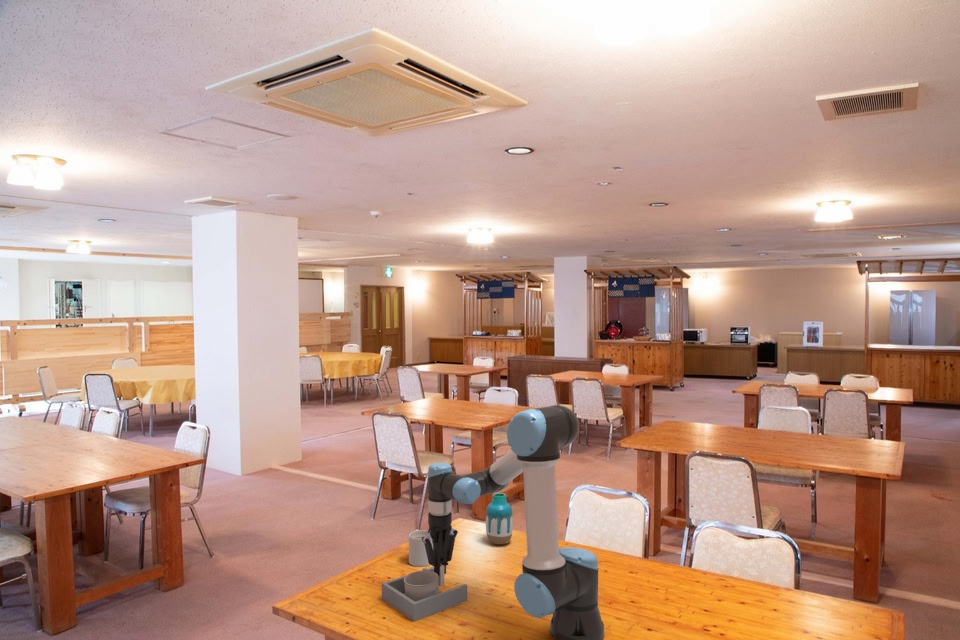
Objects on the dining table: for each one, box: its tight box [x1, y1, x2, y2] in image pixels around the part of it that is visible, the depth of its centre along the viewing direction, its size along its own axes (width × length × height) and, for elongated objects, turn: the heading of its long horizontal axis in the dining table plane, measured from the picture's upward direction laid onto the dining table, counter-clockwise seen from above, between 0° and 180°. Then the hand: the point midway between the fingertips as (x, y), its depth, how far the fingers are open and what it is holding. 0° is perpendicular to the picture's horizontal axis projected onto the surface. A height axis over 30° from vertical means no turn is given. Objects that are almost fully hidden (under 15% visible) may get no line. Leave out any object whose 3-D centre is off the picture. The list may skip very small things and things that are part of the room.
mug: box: [408, 529, 433, 567], centre depth 225 cm, size 11×10×10 cm
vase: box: [485, 492, 514, 545], centre depth 243 cm, size 11×11×19 cm
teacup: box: [404, 568, 440, 602], centre depth 195 cm, size 14×11×8 cm
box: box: [381, 566, 468, 622], centre depth 195 cm, size 18×20×5 cm
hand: (440, 584), depth 199 cm, fingers closed
